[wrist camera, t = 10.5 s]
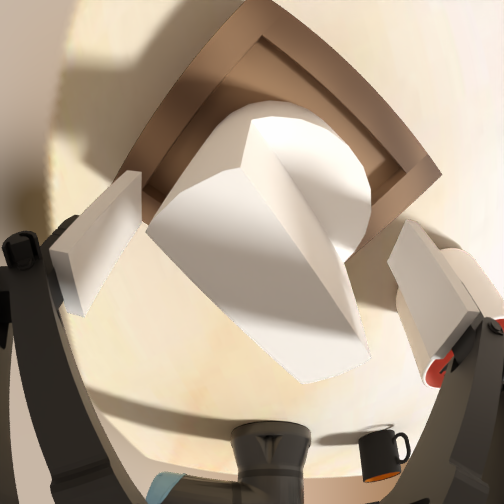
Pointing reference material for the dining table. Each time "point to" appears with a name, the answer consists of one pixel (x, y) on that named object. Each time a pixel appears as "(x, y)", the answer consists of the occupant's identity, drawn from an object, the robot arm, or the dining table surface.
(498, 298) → the cup
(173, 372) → the dining table surface
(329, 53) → the walnut base
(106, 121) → the dining table surface
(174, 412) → the dining table surface
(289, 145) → the cylinder with rectangular tab
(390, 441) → the mug
